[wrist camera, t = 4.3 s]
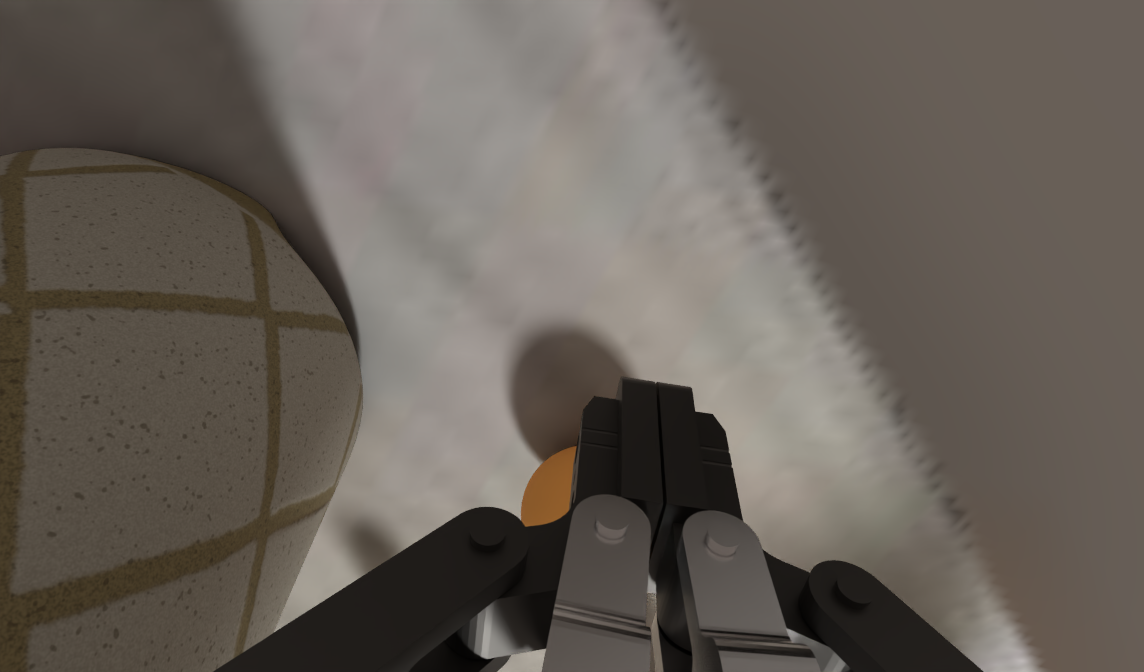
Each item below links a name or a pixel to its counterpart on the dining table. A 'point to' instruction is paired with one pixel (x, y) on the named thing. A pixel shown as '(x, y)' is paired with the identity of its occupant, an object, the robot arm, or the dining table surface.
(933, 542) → the dining table surface
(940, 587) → the dining table surface
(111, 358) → the planter
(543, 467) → the ball
